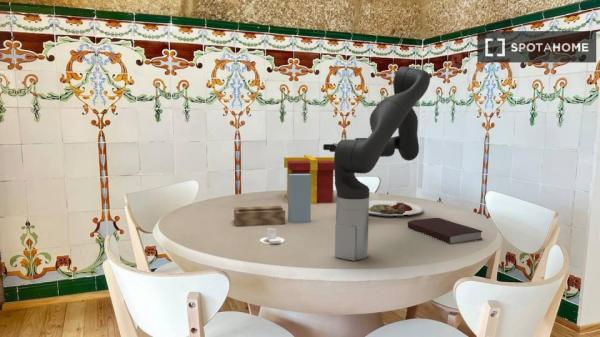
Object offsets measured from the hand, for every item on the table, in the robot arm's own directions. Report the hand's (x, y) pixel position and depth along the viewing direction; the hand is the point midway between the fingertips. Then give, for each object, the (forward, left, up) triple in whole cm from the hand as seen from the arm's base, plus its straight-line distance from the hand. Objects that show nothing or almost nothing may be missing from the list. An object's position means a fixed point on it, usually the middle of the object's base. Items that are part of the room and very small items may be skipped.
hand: (326, 147), depth 163 cm
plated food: (+32, -12, -29) cm, 45 cm away
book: (+8, -42, -29) cm, 52 cm away
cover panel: (-6, +8, -28) cm, 30 cm away
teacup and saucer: (-35, +2, -29) cm, 46 cm away
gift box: (+34, +28, -28) cm, 52 cm away
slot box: (-16, +20, -28) cm, 38 cm away
